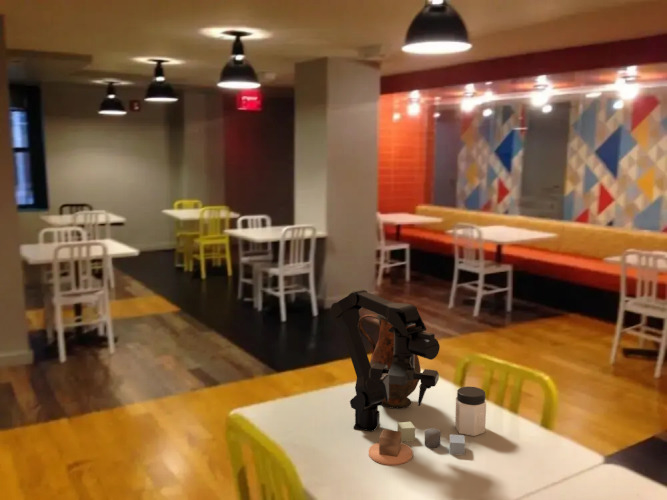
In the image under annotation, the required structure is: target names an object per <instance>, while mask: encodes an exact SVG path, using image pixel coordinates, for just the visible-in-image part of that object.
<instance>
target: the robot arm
mask: <svg viewBox="0 0 667 500" xmlns="http://www.w3.org/2000/svg"><path fill="white" fill-rule="evenodd" d="M362 309H365V310H368V311H370V312H372V313H373V314H377V315H381V316H383V317H385V318H386V320H387V322H388V323H389V324H391V325H392V327H391V328H390V329H389V330H388V331H389V332H391V333H394V355H393V362H392V364H391V367H390V369H388V366H387V364H379V363H375V364H374V365H373V366H372V367H371V365H370V359H369V356H368V354H367V351H366V347H365V343H364V341H363V337H362V335H361V334H362V333H361V331H360V330H359V326H358V324H359V320H360V318H361V316H360V310H362ZM329 313H330V317H331V318H332V321H333V323H334V325H335V326H336V327H337V328H338V329H339V330H340V331H341V332H342V334H343V338H344V341H345V345H346V347H347V350H348V353H349V356H350V360H351V362H352V363H351V364H352V366H353V369H354V372H355V375H356V381H355V386H354V389H355V394H356V395H355V396H354V397H352V398H351V399H350V400H349V403H350V407H351V408H350V409H353V410H354V412H355V413H354V414H355V415H354V417H355V418H354V420H355V421H354V422H355V423H354V425H353V429H355V430H362V431H370V432H375V430H377V428H378V427H379V425H380V415H381V414H380V410H379V406H382V402H383V400H384V398H385V399H386V402H388V400H389V383H390V384H399V385H402V386H404V385H406V384H407V381H413V380H414V379H418V380H419V381H420V385H419V393H418V401H417V406H418V407H420V406H421V404H422V402H423V399H424V397H425V393H426V391H427V390H429V389H431V388H432V387H436V386H437V384H438V381H439V380H440V379H439V377H440V375H439V372H438V370H436V369H427V368H426V369H424V370H423V371H422V372H420V373H419V372H415V366H414V355H417V356H418V357H421V358H424V359H427V360H431V361H432V360H434V359H435V358H437V356H438V355H439V352H440V343H439V341H438V339H436V338H435V337H436V336H435V334H434V333H432V332H426V331H427V327H426V325H425V323H424V321H423V319H422V317H421V315H420V313H419V310H418V308H417V306H415V305H414V304H412V303H411V304H410V303H403V302H401V303H400V302H393V301H390V300H388V299H385V298H384V297H380V296H378V295H375V294H374V293H373V294H372V293H371V292H368V291H367V290H365V289H359V290H355V291H354V290H353V291H352V292H350V293H349V294H348V295H347V296H345V297H343V298H342V299H340V300H338V301H336V302H333V303H332V304H331V306H330V309H329ZM412 325H416V326H414V327H411V328H406V327H408V326H412Z"/></svg>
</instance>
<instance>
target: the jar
mask: <svg viewBox="0 0 667 500" xmlns="http://www.w3.org/2000/svg"><path fill="white" fill-rule="evenodd" d="M456 392H457V393H456V398H455V425H454V426H455V428H456V431H458V434H459V435H464V436H465V435H467V436H472V437H475V436H476V437H477V436H479V435H481V434H484V433H486V420H487V419H486V417H487V415H486V414H487V402H486V391H485V390H484V389H482V388H480V387H476V386H462V387H459V388H457V390H456Z"/></svg>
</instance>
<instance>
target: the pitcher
mask: <svg viewBox="0 0 667 500" xmlns="http://www.w3.org/2000/svg"><path fill="white" fill-rule="evenodd" d="M365 318H373V319H376V320H377V321H378V324H379V333H378V340H377V343H375V342H374V339H372V337H371V336H370V335H369V333H367V331H366V330H365V328H364V327H363V320H364V319H365ZM414 326H416V325H412V326H408V327H406V328H411V327H414ZM391 327H392V325H391V324H389V323H388V322H387V320H386V318H385V317H383V316H381V315H379V314H377V313H368V314H364V315H363V316H360V319H359V324H358V328H359V331H360V334H362V335H363V336H364V337H365V338H366V339H367V341H368V342H369V343H370V344H371V346H372V354H371V358H370V360H369V362H370V365H371V367H372V366H373V365H374V364H375V363H379V364H387V366H388V369H390V367H391V364H392V362H393V355H394V333H391V332H389V331H388V330H389V329H390V328H391ZM414 366H415V372H419V373H422V372H421V371H422V370H421V363H420V358H419V356H418V355H414ZM419 381H420V380H418V379H414V380H413V381H407V384H406V385H404V386H402V385H399V384H390V383H389V400H388V402H386V399H385V398H384V400H383V402H382V405H381V406H382V407H385V408H387V409H401V410H402V409H407V408H409V407H410V406H412V400H411V399H410V398H409V396H410V395H411V394H413V393H414V392H415V390H416V389H417V386H418V384H419V383H420V382H419Z"/></svg>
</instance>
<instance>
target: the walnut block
mask: <svg viewBox="0 0 667 500" xmlns="http://www.w3.org/2000/svg"><path fill="white" fill-rule="evenodd" d="M378 439H379V440H378V441H379V442H378V443H379V454H381V455H387V456H394V457H398V454H399V452H400V450H401V443H402V442H401V432H400V431H397V430H394V429H385V428H384V429H383V430H382V431H381V433H380V435H379V438H378Z"/></svg>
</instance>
